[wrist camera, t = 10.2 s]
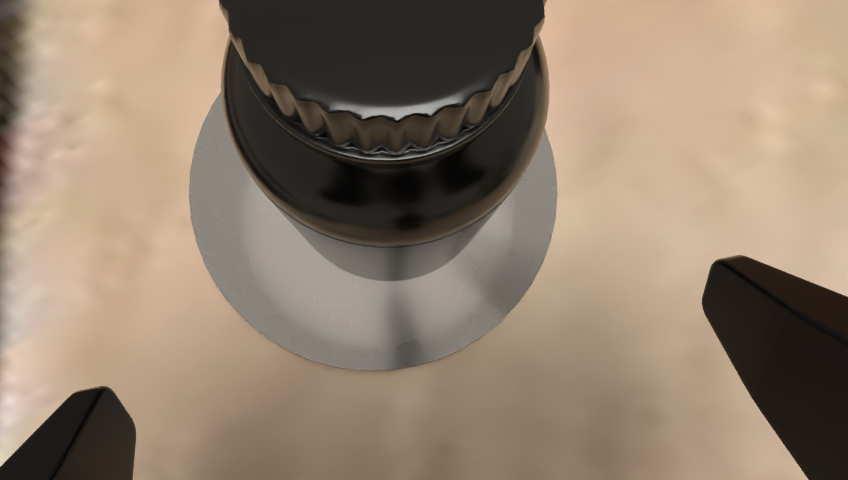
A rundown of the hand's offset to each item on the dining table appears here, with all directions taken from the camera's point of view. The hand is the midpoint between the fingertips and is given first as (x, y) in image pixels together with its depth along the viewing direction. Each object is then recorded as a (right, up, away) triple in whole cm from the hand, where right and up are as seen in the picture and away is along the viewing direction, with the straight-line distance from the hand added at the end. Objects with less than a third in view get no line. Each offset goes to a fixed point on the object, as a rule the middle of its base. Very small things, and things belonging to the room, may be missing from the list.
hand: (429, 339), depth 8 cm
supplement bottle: (-1, +3, +11) cm, 12 cm away
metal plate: (-2, +3, +13) cm, 13 cm away
